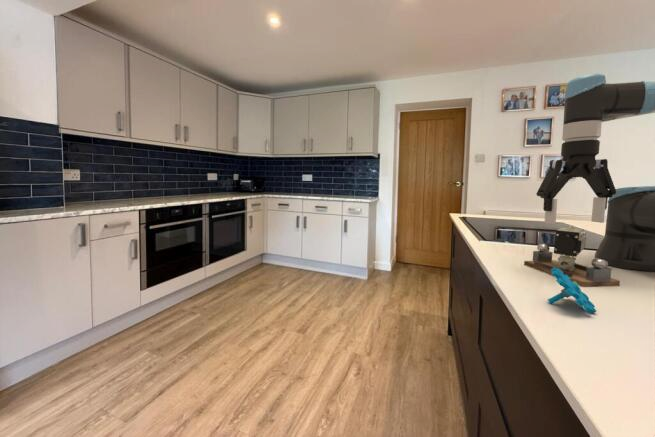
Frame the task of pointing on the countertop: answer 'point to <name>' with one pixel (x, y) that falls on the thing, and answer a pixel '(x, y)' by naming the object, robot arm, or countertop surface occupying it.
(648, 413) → the countertop surface
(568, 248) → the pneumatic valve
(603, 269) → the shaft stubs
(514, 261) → the countertop surface
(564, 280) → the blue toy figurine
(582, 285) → the brown wooden board
